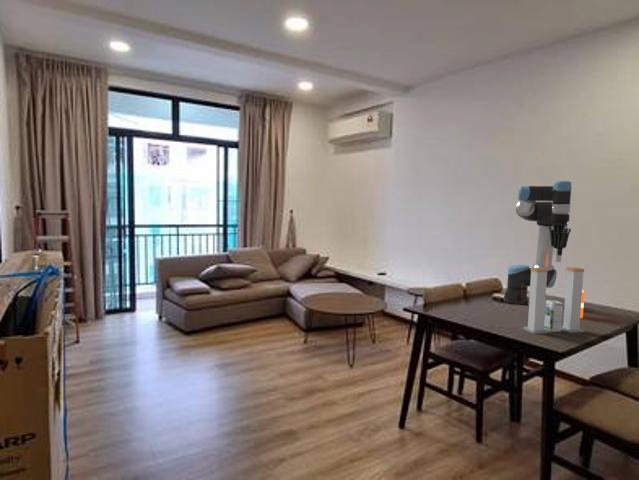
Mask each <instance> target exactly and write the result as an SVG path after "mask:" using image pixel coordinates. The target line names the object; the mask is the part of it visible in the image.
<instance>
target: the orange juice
mask: <svg viewBox="0 0 639 480" xmlns="http://www.w3.org/2000/svg"><path fill="white" fill-rule="evenodd" d="M584 305H585V291H584V288H582V300H581V314H580V319H581V318H582V319H583V317H584V308H585V306H584Z"/></svg>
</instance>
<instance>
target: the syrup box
mask: <svg viewBox="0 0 639 480" xmlns="http://www.w3.org/2000/svg"><path fill="white" fill-rule="evenodd" d="M563 315H564V303H563V302H560V301H557V300H554V299H553V300H552V299H551V300H550V299H549V300H548V299H547V300H545V315H544V329H545V330H547V331H548V332H550V333H552V332H553V333H557V332H562V329H561V327H562V326H563Z"/></svg>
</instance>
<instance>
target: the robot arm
mask: <svg viewBox="0 0 639 480" xmlns="http://www.w3.org/2000/svg"><path fill="white" fill-rule="evenodd" d="M572 188H573V187H572V182H571V181H569V180H561V181H559V180H558V181H557V180H556V181H554V182H553V185H545V186H544V185H540V186H539V185H522V186H519V188H518V193H517V197H518V202H517V204H516V206H515V213H516V214H517V215H518V217H520V218H521V219H523V220H525V221H529V222H536V225H537V227H538V235H537V236H538V237H537V248H536V258H535V259H536V260H535V263H534V264H533V265H532V267H530V266H529V265H527V264H515V265H509V267H508V271H507V285H506V286H507V287H506V288H507V289H506V290H505V293H504V295H503V301H504V302H505V303H509V304H513V305H514V304H515V305H528V299H527V293H528V292H529V291H528V287H530V280H531V268H544V269H547V270H548V272H547V283H546V289H548V288H550V289H551V288H553V287H554V286H555V284H556V280H557V276H558V275H557V274H558V272H557V269H555V266H554V265H553V264H552V263H553V262H554V263H561V262H562V255H563V249H566V248H567V245H568V240H569V235H570V233H571V231H572V229H571V228H569V227H568V222H570V213H571V198H572V197H571V196H572ZM553 255H554V256H553Z"/></svg>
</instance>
